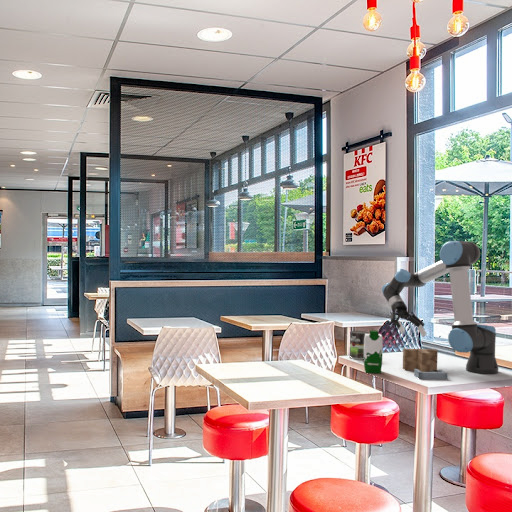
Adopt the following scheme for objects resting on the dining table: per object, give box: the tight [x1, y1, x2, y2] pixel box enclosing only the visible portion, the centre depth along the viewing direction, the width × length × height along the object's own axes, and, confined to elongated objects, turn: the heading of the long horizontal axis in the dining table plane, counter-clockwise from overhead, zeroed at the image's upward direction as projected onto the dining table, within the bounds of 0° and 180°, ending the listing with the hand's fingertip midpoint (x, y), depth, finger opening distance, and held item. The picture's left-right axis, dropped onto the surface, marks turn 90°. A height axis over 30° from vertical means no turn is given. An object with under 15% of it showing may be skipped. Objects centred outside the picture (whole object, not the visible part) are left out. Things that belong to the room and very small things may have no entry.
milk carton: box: [363, 330, 384, 374], centre depth 296 cm, size 9×9×20 cm
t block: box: [402, 348, 439, 372], centre depth 301 cm, size 16×12×10 cm
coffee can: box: [349, 330, 370, 360], centre depth 335 cm, size 10×10×14 cm
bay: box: [413, 368, 448, 380], centre depth 286 cm, size 13×9×3 cm
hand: (413, 333), depth 313 cm, fingers open, 13 cm apart
